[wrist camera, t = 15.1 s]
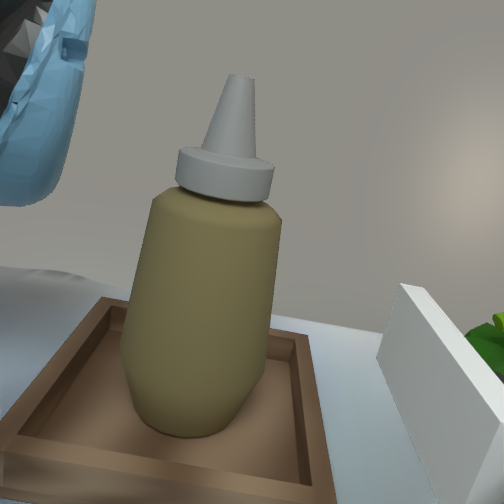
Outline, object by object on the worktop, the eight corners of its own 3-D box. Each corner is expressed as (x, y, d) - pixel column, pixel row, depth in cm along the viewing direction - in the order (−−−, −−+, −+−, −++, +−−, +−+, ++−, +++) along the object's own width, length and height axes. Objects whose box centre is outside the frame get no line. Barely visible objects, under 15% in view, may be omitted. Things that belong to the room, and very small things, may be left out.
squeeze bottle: (82, 394, 26) (112, 50, 20) (188, 351, 32) (234, 77, 27) (180, 484, 22) (254, 74, 16) (281, 413, 28) (360, 101, 22)
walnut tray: (-22, 493, 20) (-21, 447, 19) (98, 327, 34) (101, 296, 33) (323, 552, 20) (338, 509, 20) (299, 364, 35) (307, 335, 34)
